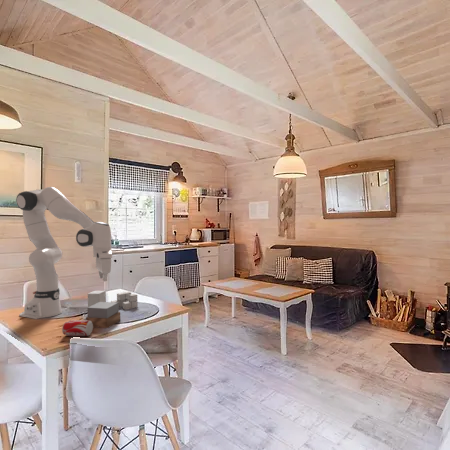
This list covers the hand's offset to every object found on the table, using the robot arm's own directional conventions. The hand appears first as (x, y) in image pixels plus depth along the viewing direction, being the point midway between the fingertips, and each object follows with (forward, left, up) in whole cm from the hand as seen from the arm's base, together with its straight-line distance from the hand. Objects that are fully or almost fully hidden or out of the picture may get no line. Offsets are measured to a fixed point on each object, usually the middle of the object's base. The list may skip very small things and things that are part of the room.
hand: (103, 279), depth 164 cm
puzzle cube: (-6, +29, -24) cm, 38 cm away
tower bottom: (0, 0, -24) cm, 24 cm away
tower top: (0, 0, -18) cm, 19 cm away
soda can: (+4, -16, -20) cm, 26 cm away
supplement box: (-14, +14, -23) cm, 31 cm away
